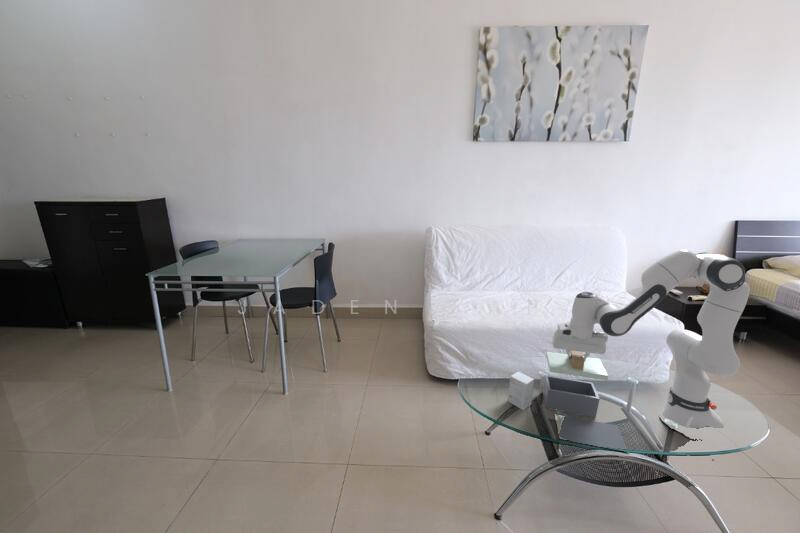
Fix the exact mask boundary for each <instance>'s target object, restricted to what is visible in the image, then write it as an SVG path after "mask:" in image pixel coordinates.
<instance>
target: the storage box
mask: <svg viewBox="0 0 800 533" xmlns="http://www.w3.org/2000/svg"><path fill="white" fill-rule="evenodd" d="M543 395H544V397H543V402H544V406H545V409H549V408H551V409H550V410H554V409H557V410H556V411H561V412H567V413H571V414H577V415H582V416H587V417H593V418H596V417H597V414H598V413H597V412H598V408H599V404H600V396H599V394H598V391H597V389H596V387H595V385H594V383H593V382H592V381H591V382H590V381H584V380H578V379H573V378H565V377H562V376H561V377H559V376H555V375H554V376H553V375H547V374H545V375H544V381H543V387H542V396H543Z"/></svg>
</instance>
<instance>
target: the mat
mask: <svg viewBox="0 0 800 533" xmlns="http://www.w3.org/2000/svg"><path fill="white" fill-rule="evenodd" d="M564 416H565V417H564V420H563V422H562V425H561V430H560V433H559V434H558V433H557V436H558V435H559V436H560V437H562V438H564V439H567V440H570V441H573V442H572V443H575V442H577V443H576V444H580V443H582V445H585V444H588V445H587V446H590V445H593V446H592V447H595V446H597V447H596V448H600V447H610V448H620V449H628V447H627V444H626V443H625V439H624V438H623V436H622V434H621V431H620V429H619V426H618V425H617V424H612V423H607V422H602V421H601V422H600V421H596V420H589V419H585V418H579V417H574V416H570V415H564ZM570 441H569V442H570Z"/></svg>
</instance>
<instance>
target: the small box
mask: <svg viewBox="0 0 800 533" xmlns="http://www.w3.org/2000/svg"><path fill="white" fill-rule="evenodd" d="M508 385H509V388H508V392H507V393H508V395H507V402H508V403H510V404H512V405H514V406H515V407H517V408H519V409H520V410H522V411H524V410H526V409H528V407H530V406H531V405H532V400H533V398H532V397H533V394H534V393H533V392H534V385H535V378H532V377H531V376H529V375H526V374H525V373H523V372H521V371H517V372H515V373H513V374H512V375H510V379H509V384H508Z"/></svg>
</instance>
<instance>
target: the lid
mask: <svg viewBox="0 0 800 533" xmlns="http://www.w3.org/2000/svg"><path fill="white" fill-rule="evenodd" d="M569 354H571V355H572V359H568V358H567V355H568V354H567V353H562V352H561V353H560V352H554V351H546V354H545V357H546V360H547V361H546V362H547V365H548V370H549V373H557V374H561V375H562V374H563V375H568V376H575V377H581V378H590V379H595V380H602V381H608V380H609V374H608V373H607V370H606V368H605V367H604V365H603V363H602V360H601V358H597V357H589V356H588V357H587V358H586V361H584V358H583V356H584V355H583V354H582V352H580V351H573V350H570V352H569Z"/></svg>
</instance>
